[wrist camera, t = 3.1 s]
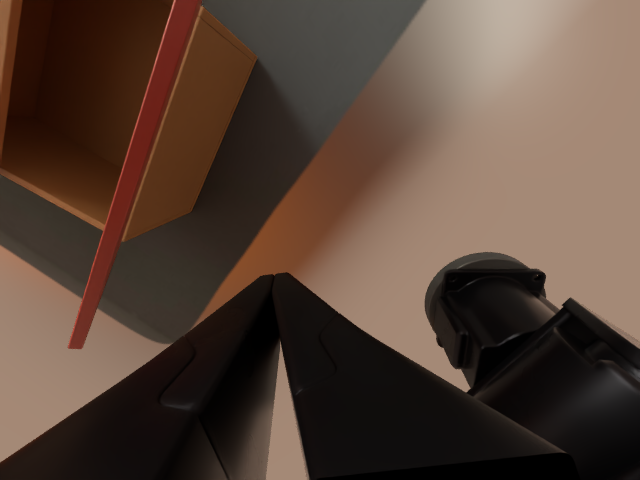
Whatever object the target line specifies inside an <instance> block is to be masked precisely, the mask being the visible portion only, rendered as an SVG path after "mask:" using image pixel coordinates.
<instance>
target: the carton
mask: <svg viewBox="0 0 640 480" xmlns="http://www.w3.org/2000/svg"><path fill="white" fill-rule="evenodd" d="M173 2H174V0H0V174H1V175H3V176H5V177H7V178H9V179H10V180H12V181H14V182H16V183H18V184H19V185H21V186H23V187H25V188H27V189H28V190H30V191H32V192H34V193H36V194H37V195H39V196H41V197H43V198H45V199H46V200H48V201H50V202H52V203H54V204H55V205H57V206H59V207H61V208H63V209H65V210H66V211H68V212H70V213H72V214H74V215H75V216H77V217H79V218H81V219H83V220H84V221H86V222H88V223H90V224H92V225H93V226H95V227H97V228H99V229H101V230H102V231H103V230H104V227H105V224H106V221H107V217H108V214H109V211H110V208H111V204H112V201H113V198H114V194H115V191H116V188H117V185H118V181H119V178H120V175H121V172H122V168H123V165H124V162H125V159H126V155H127V152H128V149H129V146H130V142H131V139H132V136H133V132H134V129H135V126H136V123H137V119H138V116H139V113H140V110H141V106H142V103H143V100H144V97H145V93H146V90H147V87H148V83H149V80H150V77H151V74H152V70H153V67H154V64H155V61H156V57H157V54H158V51H159V48H160V44H161V41H162V38H163V35H164V31H165V28H166V25H167V21H168V18H169V15H170V12H171V8H172V5H173ZM256 60H257V56H256V55H255V54H254V53H253V52H252V51H251V50H250V49H249V48H247V47H246V46H245V45H244V44H243V43H242V42H241V41H240V40H239V39H238V38H237V37H236V36H234V35H233V34H232V33H231V32H230V31H229V30H228V29H227V28H226V27H225V26H224V25H222V24H221V23H220V22H219V21H218V20H217V19H216V18H215V17H214V16H213V15H212V14H211V13H209V12H208V11H207V10H206V9H205V8H204V7H203V6H201V8H200V11H199V14H198V17H197V20H196V22H195V25H194V28H193V31H192V34H191V37H190V40H189V43H188V46H187V49H186V52H185V55H184V58H183V61H182V64H181V67H180V70H179V73H178V76H177V79H176V81H175V84H174V87H173V90H172V93H171V96H170V99H169V102H168V105H167V108H166V111H165V114H164V117H163V120H162V123H161V126H160V129H159V132H158V135H157V138H156V140H155V143H154V146H153V149H152V152H151V155H150V158H149V161H148V164H147V167H146V170H145V173H144V176H143V179H142V182H141V185H140V188H139V191H138V194H137V197H136V199H135V202H134V205H133V208H132V211H131V214H130V217H129V220H128V223H127V226H126V229H125V232H124V235H123V238H122V242H125V241H127V240H129V239H132V238H134V237H136V236H138V235H141V234H143V233H145V232H147V231H150V230H152V229H154V228H156V227H158V226H161V225H163V224H165V223H167V222H170V221H172V220H174V219H176V218H178V217H181V216H183V215H185V214H187V213H190V212H192V209H193V207H194V205H195V202H196V200H197V198H198V195H199V193H200V191H201V188H202V186H203V184H204V181H205V179H206V177H207V174H208V172H209V170H210V167H211V165H212V163H213V160H214V158H215V156H216V153H217V151H218V149H219V146H220V144H221V142H222V139H223V137H224V135H225V132H226V130H227V128H228V125H229V123H230V121H231V118H232V116H233V114H234V111H235V109H236V107H237V104H238V102H239V99H240V97H241V95H242V92H243V90H244V88H245V85H246V83H247V81H248V78H249V76H250V74H251V71H252V69H253V67H254V64H255V62H256Z"/></svg>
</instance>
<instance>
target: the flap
mask: <svg viewBox="0 0 640 480" xmlns="http://www.w3.org/2000/svg"><path fill="white" fill-rule="evenodd" d="M201 3H202V0H174V2H173V5H172V8H171V12H170V15H169V18H168V21H167V25H166V28H165V31H164V35H163V38H162V41H161V44H160V48H159V51H158V54H157V57H156V61H155V64H154V67H153V70H152V74H151V77H150V80H149V83H148V87H147V90H146V93H145V97H144V100H143V103H142V106H141V110H140V113H139V116H138V119H137V123H136V126H135V129H134V132H133V136H132V139H131V142H130V146H129V149H128V152H127V155H126V159H125V162H124V165H123V168H122V172H121V175H120V178H119V181H118V185H117V188H116V191H115V194H114V198H113V201H112V204H111V208H110V211H109V214H108V217H107V221H106V224H105V227H104V230H103V234H102V237H101V240H100V243H99V247H98V250H97V253H96V257H95V260H94V263H93V266H92V270H91V273H90V276H89V279H88V283H87V286H86V289H85V292H84V296H83V299H82V303H81V306H80V309H79V312H78V316H77V319H76V322H75V325H74V328H73V332H72V335H71V338H70V342H69V345H68V348H69V349H82V347H83V345H84V342H85V340H86V337H87V334H88V331H89V329H90V326H91V323H92V320H93V318H94V315H95V312H96V310H97V307H98V304H99V301H100V299H101V296H102V293H103V290H104V288H105V285H106V282H107V280H108V277H109V274H110V271H111V269H112V266H113V263H114V260H115V258H116V255H117V252H118V249H119V247H120V244H121V241H122V238H123V235H124V232H125V229H126V226H127V223H128V220H129V217H130V214H131V211H132V208H133V205H134V202H135V199H136V197H137V194H138V191H139V188H140V185H141V182H142V179H143V176H144V173H145V170H146V167H147V164H148V161H149V158H150V155H151V152H152V149H153V146H154V143H155V140H156V138H157V135H158V132H159V129H160V126H161V123H162V120H163V117H164V114H165V111H166V108H167V105H168V102H169V99H170V96H171V93H172V90H173V87H174V84H175V81H176V79H177V76H178V73H179V70H180V67H181V64H182V61H183V58H184V55H185V52H186V49H187V46H188V43H189V40H190V37H191V34H192V31H193V28H194V25H195V22H196V20H197V17H198V14H199V11H200V8H201Z"/></svg>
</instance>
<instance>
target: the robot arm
mask: <svg viewBox="0 0 640 480" xmlns="http://www.w3.org/2000/svg"><path fill="white" fill-rule="evenodd" d="M450 275H454V277H453V278H451V279H450V278H449V276H450ZM536 275H538V277H537V278H534V277H535V276H536ZM545 279H546V275H545V273H543V272H542V271H540V270H539V269H448V270H447V271H445V272H444V275H443V282H442V291H441V296H440V297H439V298H438V299H437V302H436V312H435V321H434V328H435V330H436V333H437V338H436V340H437V343H438V345H439V346H440V347H442V348H444V350H445V352H446V355H447V356H448V359H449V361H450V363H451V365H452V366H453V367H454V368H455V369H461V370H462V372H463V374H464V376H465V378H466V380H467V382H468V384H469V386H470V388H471V389H470V390H469V391H468V392H464V391H462V390H460V389H459V388H457V387H456V386H454V385H452V384H450V383H449V382H447V381H445V380H444V379H442V378H441V377H439V376H437V375H436V374H434V373H432V372H430V371H429V370H427V369H425V368H424V367H422V366H420V365H419V364H417V363H415V362H414V361H412V360H410V359H409V358H407V357H405V356H404V355H402V354H400V353H399V352H397V351H395V350H394V349H392V348H390V347H389V346H387V345H385V344H383V343H382V342H380V341H379V340H377V339H375V338H374V337H372V336H371V335H369V334H368V333H366V332H364V331H363V330H361V329H360V328H358V327H357V326H356V325H354V324H353V323H352V322H350V321H349V320H348V319H346V318H345V317H344V316H342V315H341V314H339V313H338V312H337V311H335V310H334V309H333V308H332V307H331V306H329V305H328V304H327V303H326V302H324V301H323V300H322V299H321V298H319V297H318V296H317V295H316V294H314V293H313V292H312V291H311V290H309V289H308V288H307V287H306V286H304V285H303V284H302V283H300V282H299V281H298V280H297V279H296V278H294V277H293V276H292V275H291V274H289V273H287V272H286V273H278V274H276V275H275V276H274V275H273V274H271V275H263V276H260V277H259V278H257V279H256V280H255V281H254V282H252V283H251V284H250V285H248V286H247V287H246V288H245V289H243V290H242V291H241V292H239V293H238V294H237V295H236V296H234V297H233V298H232V299H231V300H229V301H228V302H227V303H225V304H224V305H223V306H222V307H220V308H219V309H218V310H216V311H215V312H214V313H213V314H211V315H210V316H209V317H207V318H206V319H205V320H204V321H202V322H201V323H200V324H198V325H197V326H196V327H194V328H193V329H192V330H191V331H189V332H188V333H187V334H185V337H184V336H182V337H181V338H179V339H178V340H177V341H176V342H174V343H173V344H172V345H170V346H169V347H168V348H166V349H165V350H164V351H162V352H161V353H160V354H158V355H157V356H156V357H154V358H153V359H152V360H150V361H149V362H147V363H146V364H145V365H143V366H142V367H140V368H139V369H137V370H136V371H135V372H133V373H132V374H130V375H129V376H127V377H126V378H124V379H123V380H122V381H120V382H119V383H117V384H116V385H114V386H113V387H111V388H110V389H108V390H107V391H105V392H104V393H102V394H101V395H99V396H98V397H96V398H95V399H94V400H92V401H91V402H89V403H88V404H86V405H85V406H83V407H82V408H80V409H79V410H77V411H76V412H74V413H73V414H71V415H70V416H68V417H67V418H66V419H64V420H62V421H61V422H59V423H58V424H57V425H55V426H54V427H52V428H51V429H49V430H48V431H46V432H45V433H43V434H42V435H40V436H39V437H37V438H36V439H34V440H33V441H32V442H30V443H28V444H27V445H25V446H24V447H23V448H21V449H20V450H18V451H17V452H15V453H14V454H12V455H11V456H9V457H8V458H6V459H5V460H3V461H2V462H0V480H265V479H266V471H267V462H268V453H269V443H270V434H271V425H272V416H273V407H274V398H275V388H276V379H277V369H278V360H279V352H280V341H281V346H282V351H283V357H284V361H285V367H286V372H287V377H288V383H289V388H290V393H291V398H292V403H293V409H294V413H295V419H296V424H297V430H298V435H299V440H300V445H301V450H302V456H303V461H304V466H305V471H306V476H307V480H640V341H638V340H637V339H635V338H634V337H632V336H630V335H629V334H627V333H626V332H624V331H623V330H621V329H619V328H618V327H616V326H615V325H613V324H612V323H610V322H608V321H607V320H605V319H604V318H602V317H600V316H599V315H597V314H596V313H594V312H593V311H591V310H590V309H588V308H586V307H585V306H583V305H582V304H580V303H579V302H577V301H575V300H574V299H572V298H569V299H568V300H567V301H566V302H565V303H564V304H563V305H562V306H563V308H562V309H561V310H559V309H558V308H557V307H556V306H554V305H553V304H552V303H551V302H549V301H548V300H547V299H546V298H544V297H543V296H542V292H543V288H544V283H545Z"/></svg>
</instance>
